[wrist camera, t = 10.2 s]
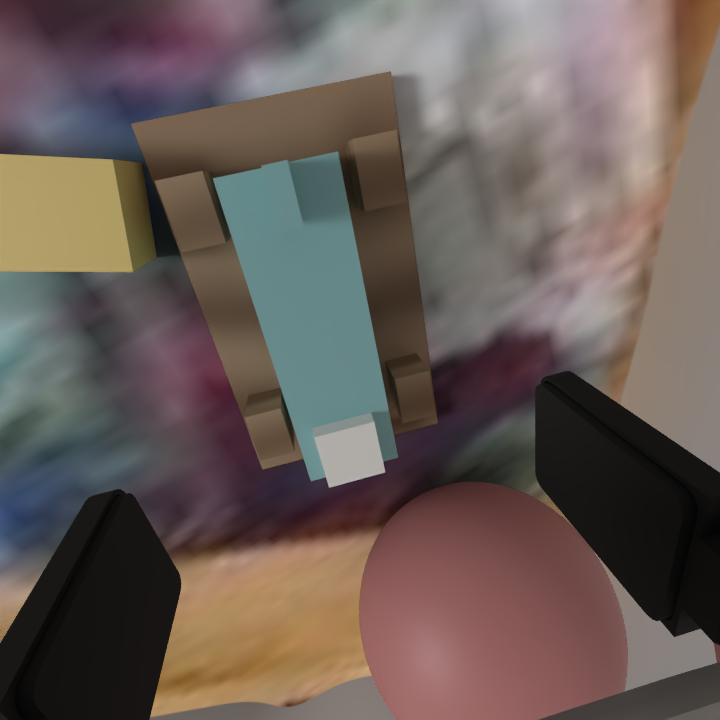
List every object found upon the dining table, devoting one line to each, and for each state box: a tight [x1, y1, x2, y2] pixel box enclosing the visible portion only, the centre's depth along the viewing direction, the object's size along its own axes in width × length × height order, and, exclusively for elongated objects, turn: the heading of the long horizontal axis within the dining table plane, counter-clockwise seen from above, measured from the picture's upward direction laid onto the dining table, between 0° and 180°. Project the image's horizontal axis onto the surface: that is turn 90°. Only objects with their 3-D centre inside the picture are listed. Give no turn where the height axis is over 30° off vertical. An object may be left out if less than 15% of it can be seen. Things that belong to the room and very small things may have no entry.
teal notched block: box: [213, 152, 398, 488], centre depth 19 cm, size 14×4×8 cm, turn 11°
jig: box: [131, 72, 438, 469], centre depth 22 cm, size 20×12×4 cm, turn 11°
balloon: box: [359, 482, 628, 720], centre depth 27 cm, size 15×20×15 cm
